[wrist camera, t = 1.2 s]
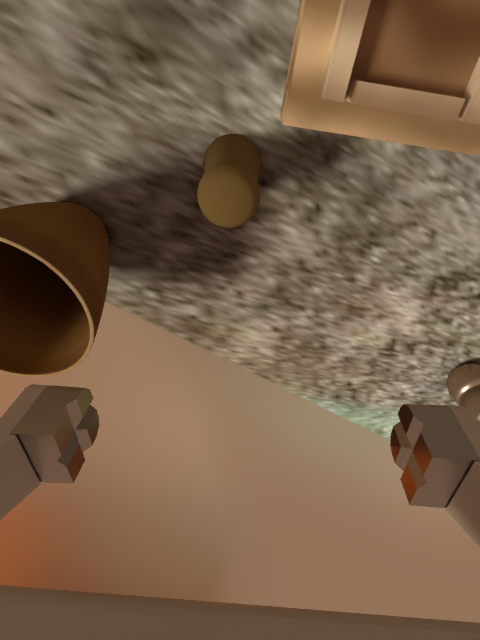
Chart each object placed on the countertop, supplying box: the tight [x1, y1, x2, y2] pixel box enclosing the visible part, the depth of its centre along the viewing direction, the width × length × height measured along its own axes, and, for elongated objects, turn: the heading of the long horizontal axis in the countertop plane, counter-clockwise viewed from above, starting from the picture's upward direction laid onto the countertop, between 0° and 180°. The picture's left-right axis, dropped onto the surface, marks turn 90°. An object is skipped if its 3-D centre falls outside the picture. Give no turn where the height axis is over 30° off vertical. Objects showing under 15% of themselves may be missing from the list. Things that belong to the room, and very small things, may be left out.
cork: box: [197, 134, 261, 228], centre depth 32 cm, size 6×6×11 cm
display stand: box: [280, 0, 480, 155], centre depth 26 cm, size 18×18×6 cm
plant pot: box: [0, 202, 110, 377], centre depth 35 cm, size 15×15×16 cm
